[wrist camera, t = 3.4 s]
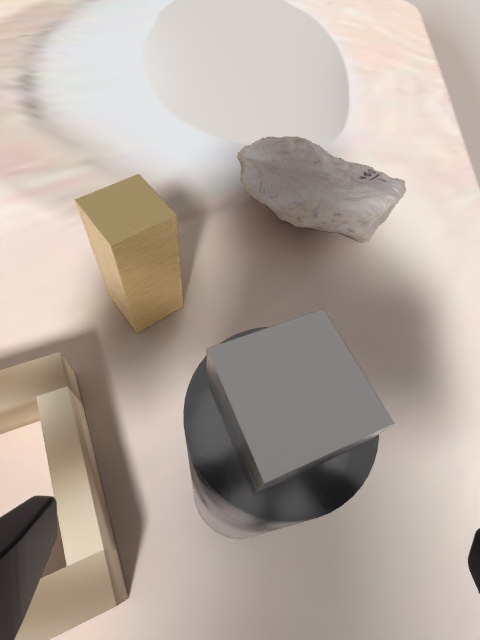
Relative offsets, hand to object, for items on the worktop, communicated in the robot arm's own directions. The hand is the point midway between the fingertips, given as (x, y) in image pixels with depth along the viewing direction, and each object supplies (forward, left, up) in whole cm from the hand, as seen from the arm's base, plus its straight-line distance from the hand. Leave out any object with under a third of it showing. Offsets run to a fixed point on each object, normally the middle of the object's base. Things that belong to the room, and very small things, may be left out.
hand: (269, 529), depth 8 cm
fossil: (+16, -12, -10) cm, 22 cm away
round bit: (+2, -1, -9) cm, 10 cm away
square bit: (+13, 0, -9) cm, 16 cm away
